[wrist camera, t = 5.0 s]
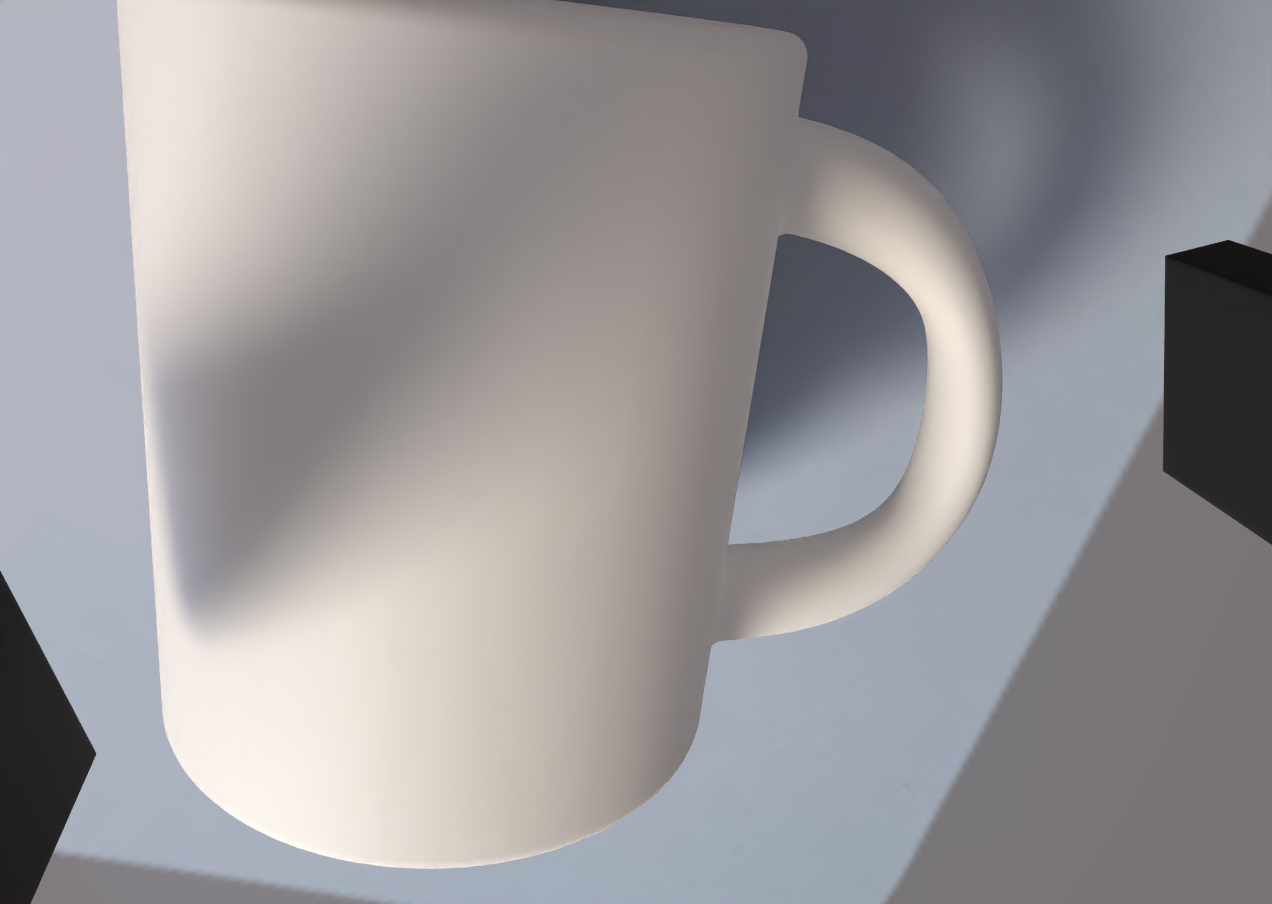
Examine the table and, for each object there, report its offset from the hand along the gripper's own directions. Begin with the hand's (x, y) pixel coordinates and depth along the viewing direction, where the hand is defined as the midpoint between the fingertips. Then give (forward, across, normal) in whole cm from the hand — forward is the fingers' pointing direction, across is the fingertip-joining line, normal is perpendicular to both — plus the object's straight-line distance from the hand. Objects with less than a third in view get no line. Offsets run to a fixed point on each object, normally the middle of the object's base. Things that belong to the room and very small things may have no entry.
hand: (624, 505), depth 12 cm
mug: (+8, 0, 0) cm, 8 cm away
